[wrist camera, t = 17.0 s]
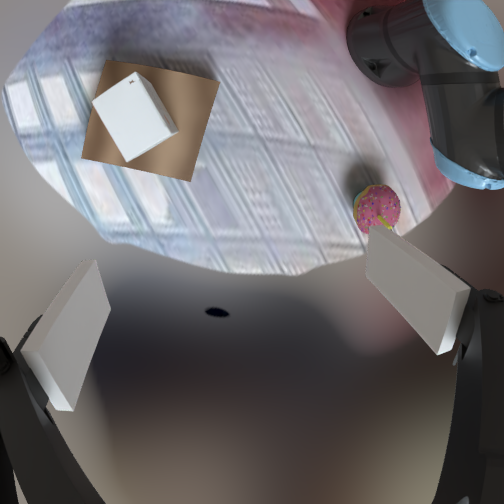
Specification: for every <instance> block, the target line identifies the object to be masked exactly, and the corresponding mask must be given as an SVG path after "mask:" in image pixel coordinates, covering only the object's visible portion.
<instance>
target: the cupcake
mask: <svg viewBox="0 0 504 504" xmlns="http://www.w3.org/2000/svg"><path fill="white" fill-rule="evenodd" d="M353 207H354V211H353V216H354V219H355V221H356V223H357V225H358V227H359V229H360V230H361V231H362V232H363V233H366V234H369V226H375V225H384V226H385V227H387V228H388V229H390V230H391V231H392V227H394V225H395V224H396V223H397V222H398V219H399V215H400V211H401V209H400V208H401V206H400V200H399V199H398V196H397V194H396V193H395V192H394V191H393V190H392V189H391V188H390V187H389V186H387V185H381V184H379V185H369V186H367V187H366V189H365V190H364V191H362V192H360V193H359V194H358V195H357V196H356V197H355V200H354V203H353Z"/></svg>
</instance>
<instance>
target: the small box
mask: <svg viewBox="0 0 504 504" xmlns="http://www.w3.org/2000/svg"><path fill="white" fill-rule="evenodd" d="M91 103H92V104H93V106H94V108H95V110H96V112H97V113H98V115H99V117H100V119H101V120H102V122H103V124H104V125H105V127H106V129H107V131H108V132H109V134H110V136H111V137H112V139H113V141H114V143H115V144H116V146H117V148H118V149H119V151H120V153H121V154H122V156H123V158H124V159H125V161H126V162H128V161H130V160H132V159H134V158H136V157H138V156H140V155H141V154H143V153H145V152H147V151H148V150H150V149H152V148H153V147H155V146H157V145H158V144H160V143H161V142H163V141H165V140H166V139H168V138H170V137H171V136H173V135H174V134H176V133H178V132H179V130H178V129H177V127H176V125H175V124H174V122H173V120H172V119H171V117H170V115H169V113H168V112H167V110H166V108H165V107H164V105H163V103H162V101H161V100H160V98H159V96H158V95H157V93H156V91H155V89H154V88H153V86H152V84H151V83H150V82H149V81H148V80H147V79H145V78H144V77H143V76H141V75H140V74H139V73H137V72H134V73H132V74H131V75H129V76H128V77H126V78H124V79H123V80H121V81H120V82H118V83H117V84H115V85H114V86H113V87H111V88H110V89H108V90H107V91H105V92H104V93H102V94H101V95H100V96H98V97H97V98H95V99H94V100H93V101H92V102H91Z"/></svg>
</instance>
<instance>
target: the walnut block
mask: <svg viewBox="0 0 504 504" xmlns="http://www.w3.org/2000/svg"><path fill="white" fill-rule="evenodd" d="M134 72H137V73H139V74H140V75H141V76H143V77H144V78H145V79H147V80H148V81H149V82H150V83H151V84H152V86H153V88H154V89H155V91H156V93H157V95H158V96H159V98H160V100H161V101H162V103H163V105H164V107H165V108H166V110H167V112H168V113H169V115H170V117H171V119H172V120H173V122H174V124H175V125H176V127H177V129H178V130H179V132H178V133H176V134H174V135H173V136H171V137H170V138H168V139H166V140H165V141H163V142H161V143H160V144H158V145H157V146H155V147H153V148H152V149H150V150H148V151H147V152H145V153H143V154H141V155H140V156H138V157H136V158H134V159H132V160H130V161H128V162H126V161H125V159H124V158H123V156H122V154H121V153H120V151H119V149H118V148H117V146H116V144H115V143H114V141H113V139H112V137H111V136H110V134H109V132H108V131H107V129H106V127H105V125H104V124H103V122H102V120H101V119H100V117H99V115H98V113H97V112H96V110H95V108H94V106H93V107H92V111H91V115H90V119H89V123H88V128H87V132H86V137H85V141H84V146H83V151H82V157H81V158H82V159H88V160H93V161H98V162H103V163H108V164H113V165H118V166H122V167H127V168H132V169H136V170H141V171H146V172H150V173H155V174H159V175H163V176H168V177H172V178H176V179H181V180H185V181H189V182H191V178H192V175H193V171H194V167H195V164H196V160H197V157H198V153H199V149H200V146H201V142H202V139H203V136H204V132H205V129H206V126H207V122H208V119H209V116H210V112H211V109H212V106H213V103H214V100H215V97H216V93H217V90H218V87H219V84H220V82H219V81H215V80H211V79H207V78H203V77H199V76H194V75H190V74H186V73H181V72H176V71H172V70H167V69H161V68H156V67H151V66H145V65H139V64H132V63H126V62H119V61H111V60H106V62H105V66H104V69H103V72H102V75H101V78H100V82H99V85H98V89H97V92H96V96H95V98H97V97H98V96H100V95H101V94H102V93H104V92H105V91H107V90H108V89H110V88H111V87H113V86H114V85H115V84H117V83H118V82H120V81H121V80H123V79H124V78H126V77H128V76H129V75H131V74H132V73H134Z"/></svg>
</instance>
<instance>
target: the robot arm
mask: <svg viewBox="0 0 504 504" xmlns="http://www.w3.org/2000/svg"><path fill="white" fill-rule="evenodd" d="M347 44H348V48H349V51H350V54H351V56H352V58H353V60H354V62H355V64H356V65H357V67H358V68H359V69H360V70H361V71H362V73H363V74H364V75H366V76H367V77H368V78H369V79H371V80H372V81H374V82H375V83H377V84H379V85H382V86H385V87H391V88H396V87H405V86H409V85H411V84H413V83H415V82H416V81H418V80H419V79H420V81H421V86H422V91H423V95H424V100H425V105H426V111H427V116H428V122H429V128H430V134H431V137H430V143H431V145H432V147H433V152H434V159H435V163H436V166H437V168H438V169H439V170H440V172H441V173H442V174H443V175H444V176H446V177H447V178H449V179H450V180H452V181H454V182H456V183H459V184H462V185H465V186H468V187H472V188H477V189H484V188H488V189H491V190H494V189H501V188H504V88H501V86H500V81H499V76H498V70H500V69H501V68H503V67H504V32H503V29H502V27H501V25H500V23H499V22H498V20H497V18H496V16H495V15H494V14H493V12H492V11H491V10H490V8H489V7H488V6H487V5H485V4H484V2H483V1H482V0H407V1H404V2H402V3H400V4H398V5H396V6H372V7H369V8H366V9H364V10H363V11H361V12H359V13H358V14H356V15H355V16H354V17H353V18H352V20H351V22H350V24H349V26H348V30H347ZM366 277H367V278H368V279H369V280H370V281H371V282H372V283H373V284H374V286H375V287H376V288H377V289H378V290H379V291H380V292H381V293H382V294H383V295H384V296H385V297H386V298H387V299H388V301H389V302H390V303H391V304H392V305H393V306H394V307H395V308H396V309H397V310H398V311H399V312H400V314H401V315H402V316H403V317H404V318H405V319H406V320H407V321H408V322H409V324H410V325H411V326H412V327H413V328H414V329H415V330H416V332H417V333H418V334H419V335H420V336H421V337H422V338H423V339H424V341H425V342H426V343H427V344H428V345H429V346H430V347H431V349H432V350H433V351H434V352H435V353H436V354H437V355H439V354H442V353H444V352H447V351H449V350H451V349H452V346H453V344H454V341H455V338H456V337H457V338H458V339H459V340H460V341H461V344H460V347H459V349H458V352H457V355H456V357H455V360H454V362H453V365H455V364H456V362H457V361H458V367H457V380H456V389H455V399H454V408H453V414H452V421H451V427H450V433H449V439H448V444H447V449H446V454H445V459H444V463H443V468H442V471H441V476H440V479H439V483H438V487H437V491H436V494H435V497H434V500H433V502H432V504H504V297H503V296H502V295H501V294H500V293H498V292H496V291H493V290H490V289H483V290H480V291H478V290H477V289H475V288H474V287H473V286H471V285H470V284H469V283H467V282H466V281H465V280H464V279H462V278H460V277H459V276H458V275H457V274H456V273H455V274H454V272H453V271H451V270H450V269H449V268H447V267H446V266H443V265H441V264H439V263H437V262H436V261H434V260H433V259H432V258H430V257H428V256H427V255H426V254H425V253H423V252H422V251H420V250H419V249H418V248H416V247H415V246H413V245H412V244H410V243H409V242H407V241H406V240H404V239H403V238H402V237H400V236H399V235H397V234H396V233H394V232H393V231H391V230H390V229H388V228H387V227H385V226H384V225H375V226H369V240H368V253H367V265H366ZM110 310H111V308H110V305H109V302H108V299H107V296H106V293H105V290H104V286H103V283H102V279H101V276H100V273H99V269H98V265H97V262H96V259H93V260H85V261H81V263H80V264H79V265H78V267H77V268H76V269H75V271H74V272H73V273H72V275H71V276H70V277H69V279H68V280H67V281H66V283H65V284H64V286H63V287H62V288H61V290H60V291H59V293H58V294H57V295H56V297H55V298H54V300H53V301H52V303H51V304H50V305H49V307H48V309H47V310H46V311H45V313H44V314H43V315H41V316H40V317H38V318H37V319H36V320H35V321H34V322H33V323H32V324H31V326H30V327H29V329H28V332H26V333H25V335H24V338H22V340H21V341H20V343H19V344H18V346H17V347H16V349H15V351H14V352H13V353H12V351H11V350H10V348H9V346H8V344H7V342H6V340H5V339H4V338H3V337H0V504H19V503H18V497H17V492H16V486H15V480H14V473H13V470H14V472H15V475H16V477H17V480H18V482H19V485H20V487H21V489H22V492H23V494H24V496H25V498H26V500H27V503H28V504H106V503H105V502H104V501H103V499H102V498H101V497H100V495H99V494H98V492H97V491H96V489H95V488H94V487H93V485H92V484H91V482H90V481H89V479H88V478H87V476H86V475H85V473H84V472H83V470H82V469H81V467H80V465H79V464H78V463H77V461H76V459H75V458H74V456H73V454H72V453H71V451H70V449H69V447H68V446H67V444H66V442H65V440H64V438H63V437H62V435H61V433H60V431H59V429H58V427H57V426H56V424H55V422H54V420H53V418H52V416H51V414H50V412H49V411H48V409H47V408H46V405H47V402H48V400H50V401H51V403H52V404H53V406H54V407H55V409H56V410H64V411H74V408H75V405H76V402H77V399H78V396H79V393H80V390H81V387H82V384H83V381H84V378H85V375H86V372H87V369H88V367H89V364H90V361H91V358H92V355H93V353H94V350H95V348H96V345H97V342H98V339H99V337H100V335H101V332H102V329H103V327H104V325H105V322H106V320H107V317H108V315H109V312H110Z"/></svg>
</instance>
